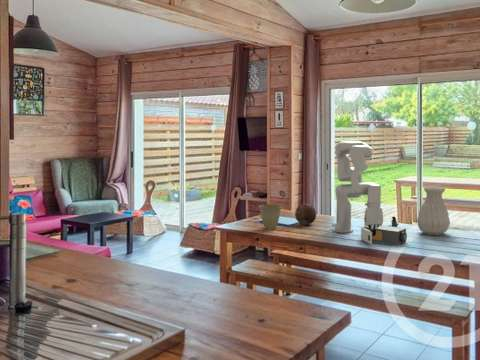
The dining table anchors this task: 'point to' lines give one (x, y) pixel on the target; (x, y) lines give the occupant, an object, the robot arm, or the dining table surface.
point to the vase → (433, 213)
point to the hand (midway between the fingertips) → (373, 235)
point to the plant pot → (270, 215)
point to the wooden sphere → (305, 214)
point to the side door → (366, 235)
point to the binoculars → (394, 222)
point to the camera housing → (389, 234)
